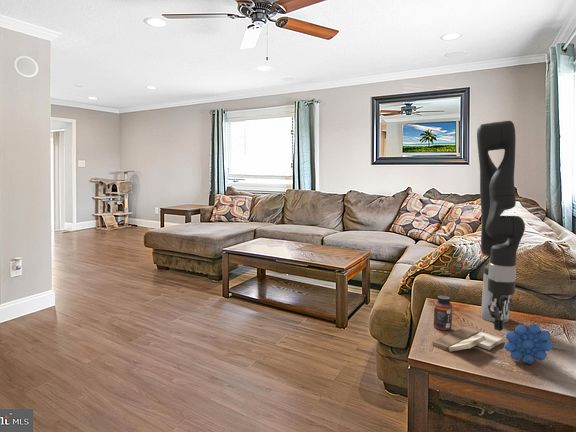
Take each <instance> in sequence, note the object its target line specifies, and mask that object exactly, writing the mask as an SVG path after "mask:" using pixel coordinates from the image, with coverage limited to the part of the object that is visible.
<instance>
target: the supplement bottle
mask: <svg viewBox="0 0 576 432" xmlns="http://www.w3.org/2000/svg"><path fill="white" fill-rule="evenodd" d="M450 301H451V298H450V296H446V295H438V296H437V301H436V302H435V303H434V309H433V311H434V312H433V327H434V328H435V329H437V330H440V331H450V330H451V329H452V325H453V323H452V322H453V308H454V307H453V304H452V303H451V302H450Z"/></svg>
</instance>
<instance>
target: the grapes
mask: <svg viewBox="0 0 576 432" xmlns="http://www.w3.org/2000/svg"><path fill="white" fill-rule="evenodd" d="M551 336H552V335H551V333H550V332H549V331H548V330H541V327H540V326H539V324H536V323H535V324H534V323H533V324H529V325H528V327H527V326H526V325H525V324H518V325H516V326H515V328H514V331H509V332H508V331H507V333H506V335H505V339H506V340H507V342H505V344H504V346H503V347H504V349H505V350H506V351H507V352H510V358H511V359H512V360H514V361H520V360H522V361H523V363H525V364H527V365H528V364H533V363H534V362H535V359H536V360H537V361H543V360H544V361H545V359H546V358H547V357H548V354H547V352H551V351H552V350H553V348H554V344H553V343H552V341H549V340H550V338H551Z"/></svg>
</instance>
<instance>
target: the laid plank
mask: <svg viewBox="0 0 576 432" xmlns="http://www.w3.org/2000/svg"><path fill="white" fill-rule="evenodd" d="M478 333H480V331H479V330H478V329H474V328H472V327H471V328H470V327H468V326H463V327H460V328H458V329H456V330H454V331H452V332H450V333H447V334H446V335H443V336H441V337H439V338H437V339H434V340H433V341H432V346H434V347H436V348H439V349H442V350H445V351H447V352H450V351H449V349H448V348H449V347H451V346H453V345H455V344H456V343H458V342H460V341H462V340H465V339H468V338H470V337H472V336H474V335H476V334H478Z"/></svg>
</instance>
